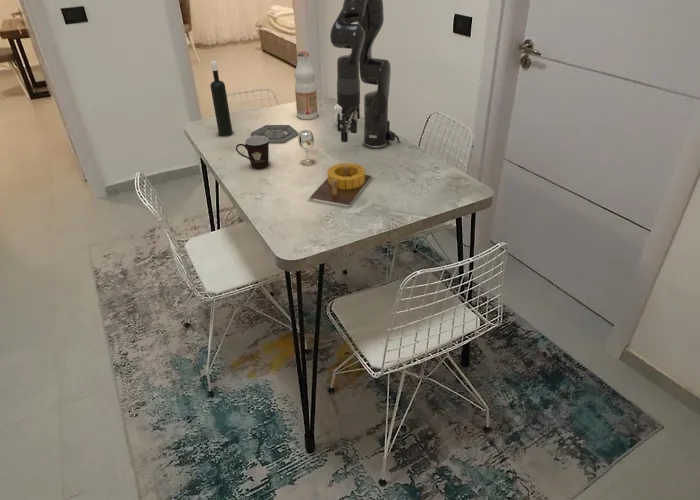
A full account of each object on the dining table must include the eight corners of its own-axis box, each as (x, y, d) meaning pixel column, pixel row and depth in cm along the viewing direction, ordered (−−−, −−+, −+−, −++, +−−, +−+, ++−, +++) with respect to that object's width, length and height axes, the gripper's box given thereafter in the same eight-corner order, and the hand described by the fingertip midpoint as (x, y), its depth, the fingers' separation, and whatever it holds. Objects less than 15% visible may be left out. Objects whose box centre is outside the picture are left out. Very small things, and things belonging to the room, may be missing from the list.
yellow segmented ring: (352, 169, 178) (352, 160, 176) (371, 183, 169) (372, 173, 167) (321, 178, 173) (321, 168, 171) (340, 192, 164) (339, 183, 162)
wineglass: (313, 166, 183) (311, 136, 176) (298, 165, 184) (295, 135, 177) (317, 159, 188) (315, 129, 181) (302, 158, 189) (300, 129, 182)
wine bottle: (235, 132, 211) (223, 60, 194) (226, 137, 207) (213, 63, 190) (225, 130, 214) (213, 58, 196) (216, 134, 210) (202, 61, 192)
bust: (336, 126, 221) (321, 110, 213) (348, 114, 220) (333, 97, 213) (349, 135, 212) (334, 118, 204) (361, 122, 212) (346, 105, 204)
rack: (335, 172, 179) (334, 156, 175) (371, 178, 174) (371, 162, 171) (309, 200, 162) (308, 183, 159) (348, 207, 158) (348, 190, 154)
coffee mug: (275, 162, 186) (273, 137, 180) (263, 172, 180) (260, 146, 174) (250, 157, 190) (246, 133, 184) (237, 166, 184) (233, 141, 178)
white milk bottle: (296, 120, 222) (291, 55, 206) (297, 112, 230) (292, 50, 214) (317, 119, 222) (313, 55, 206) (317, 112, 230) (314, 49, 214)
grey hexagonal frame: (255, 126, 216) (254, 125, 215) (300, 126, 215) (300, 124, 215) (247, 142, 202) (247, 140, 201) (295, 142, 201) (295, 140, 201)
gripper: (351, 97, 153) (351, 146, 163) (366, 85, 164) (366, 131, 173) (329, 95, 156) (330, 143, 165) (346, 82, 166) (346, 128, 176)
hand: (349, 137), depth 169 cm, fingers open, 8 cm apart
